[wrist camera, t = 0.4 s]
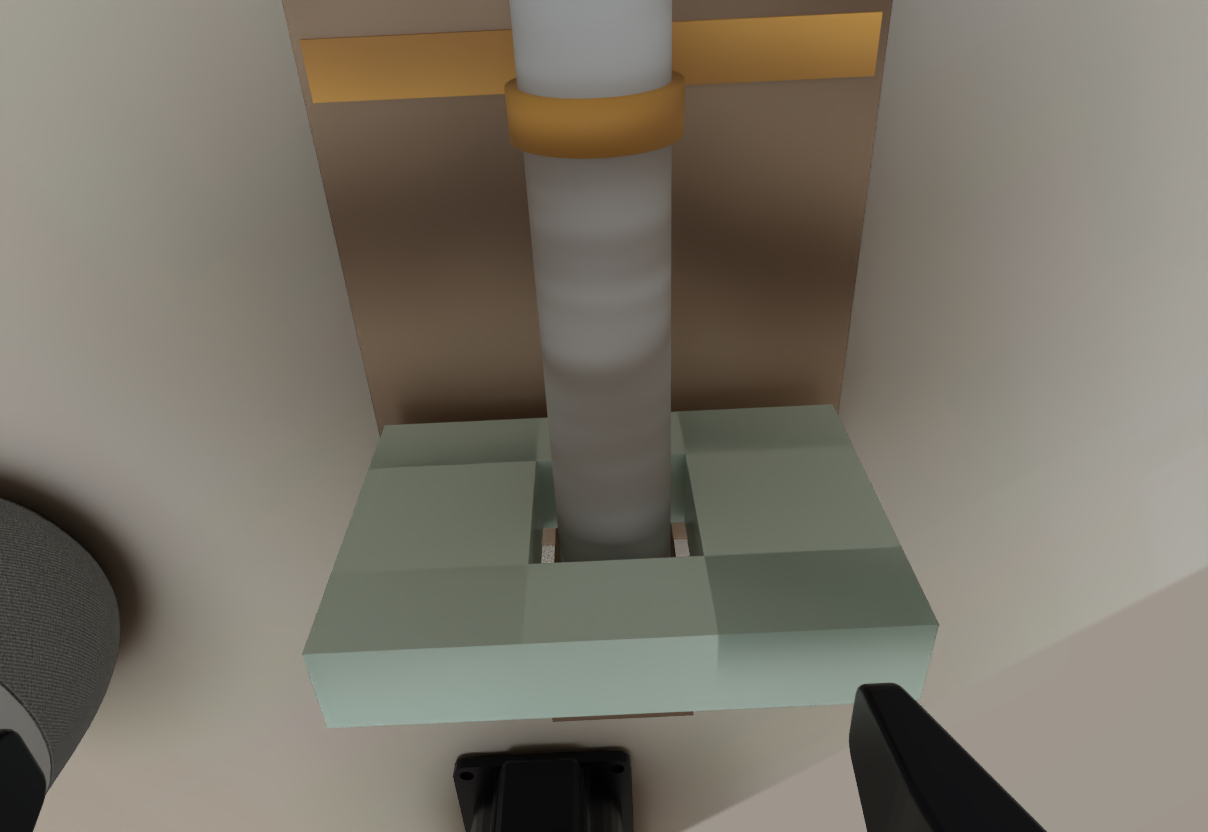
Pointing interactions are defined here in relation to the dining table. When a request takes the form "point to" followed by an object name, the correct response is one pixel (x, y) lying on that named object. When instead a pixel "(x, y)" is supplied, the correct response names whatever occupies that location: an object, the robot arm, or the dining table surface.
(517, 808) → the robot arm
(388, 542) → the collar
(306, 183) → the dining table surface
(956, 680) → the dining table surface
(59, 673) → the smart speaker
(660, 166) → the pipe stand
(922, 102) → the dining table surface
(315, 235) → the dining table surface
